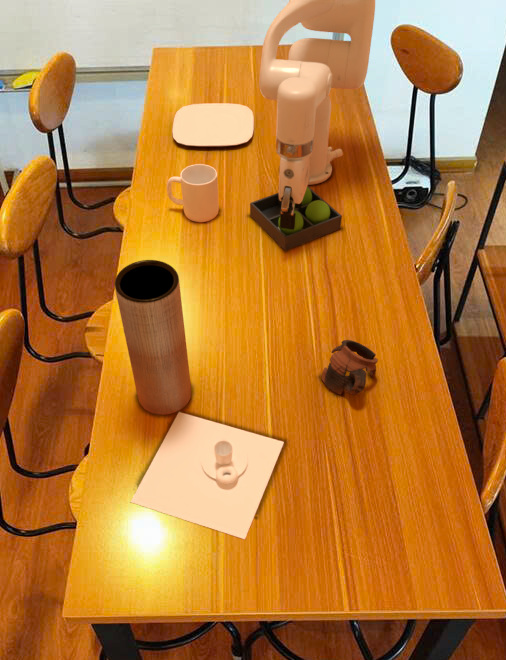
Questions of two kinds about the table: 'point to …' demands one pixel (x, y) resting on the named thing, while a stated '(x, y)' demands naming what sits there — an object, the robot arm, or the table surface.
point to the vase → (155, 334)
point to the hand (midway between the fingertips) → (291, 216)
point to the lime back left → (307, 197)
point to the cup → (197, 192)
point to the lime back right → (317, 212)
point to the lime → (297, 224)
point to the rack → (270, 208)
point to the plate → (213, 125)
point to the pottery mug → (349, 368)
